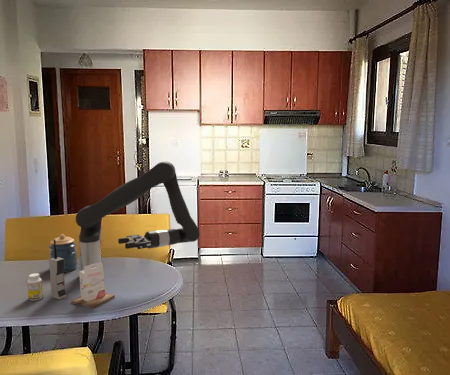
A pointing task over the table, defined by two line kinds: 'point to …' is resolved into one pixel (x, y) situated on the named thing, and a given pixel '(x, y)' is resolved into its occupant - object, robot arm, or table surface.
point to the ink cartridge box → (92, 282)
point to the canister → (65, 251)
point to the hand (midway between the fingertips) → (121, 243)
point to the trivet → (93, 301)
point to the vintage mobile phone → (57, 276)
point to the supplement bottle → (35, 287)
